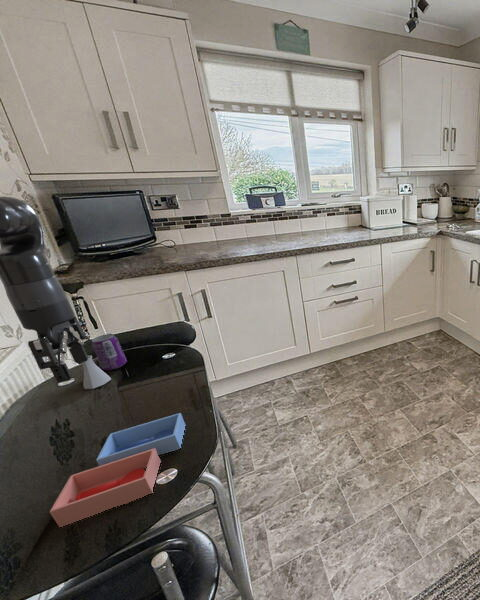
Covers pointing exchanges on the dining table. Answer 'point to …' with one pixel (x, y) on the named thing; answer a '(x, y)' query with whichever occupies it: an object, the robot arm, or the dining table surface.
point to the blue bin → (140, 434)
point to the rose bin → (73, 510)
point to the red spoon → (113, 484)
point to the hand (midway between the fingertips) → (74, 370)
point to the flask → (93, 375)
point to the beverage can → (108, 351)
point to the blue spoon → (146, 440)
